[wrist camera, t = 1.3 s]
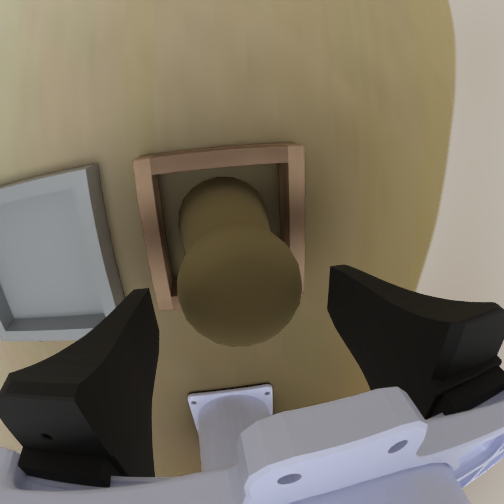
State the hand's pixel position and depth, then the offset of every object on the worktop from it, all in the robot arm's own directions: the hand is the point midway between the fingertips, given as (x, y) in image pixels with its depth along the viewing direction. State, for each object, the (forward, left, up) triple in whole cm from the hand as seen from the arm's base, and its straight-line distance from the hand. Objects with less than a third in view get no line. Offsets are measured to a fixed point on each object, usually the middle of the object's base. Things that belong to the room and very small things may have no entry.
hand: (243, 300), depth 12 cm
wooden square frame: (0, 0, -10) cm, 10 cm away
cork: (0, 0, -11) cm, 11 cm away
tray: (-1, +14, -10) cm, 17 cm away
